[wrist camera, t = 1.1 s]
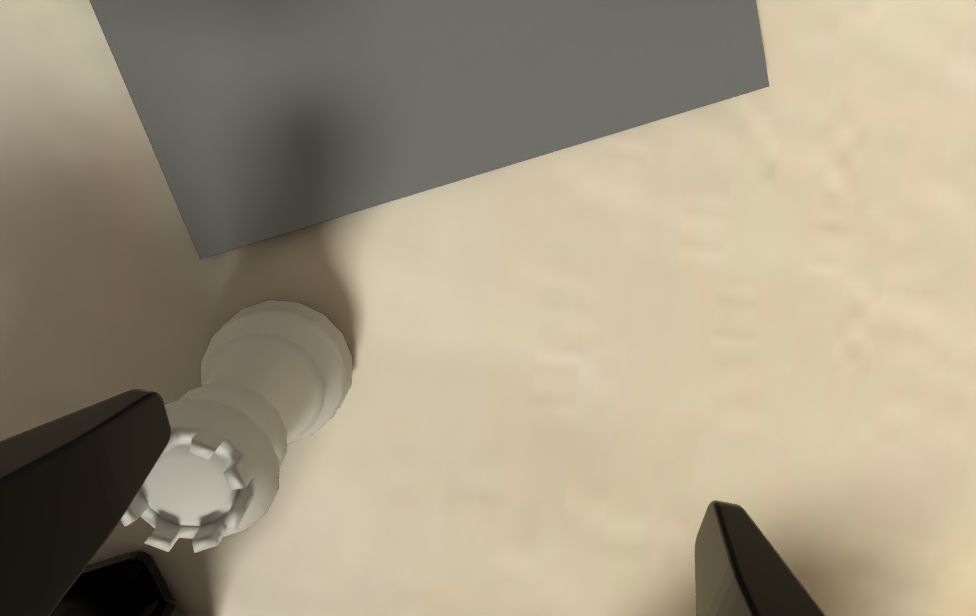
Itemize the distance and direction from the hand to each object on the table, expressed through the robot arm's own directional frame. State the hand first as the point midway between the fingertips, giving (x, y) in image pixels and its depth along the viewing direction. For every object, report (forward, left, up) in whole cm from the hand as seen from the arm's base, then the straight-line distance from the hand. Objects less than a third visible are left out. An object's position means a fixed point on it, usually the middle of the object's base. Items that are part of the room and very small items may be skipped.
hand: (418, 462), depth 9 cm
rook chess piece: (-5, 0, -10) cm, 11 cm away
